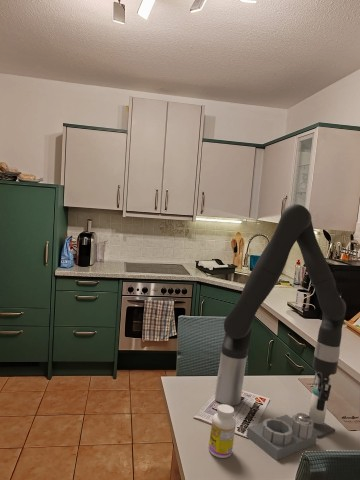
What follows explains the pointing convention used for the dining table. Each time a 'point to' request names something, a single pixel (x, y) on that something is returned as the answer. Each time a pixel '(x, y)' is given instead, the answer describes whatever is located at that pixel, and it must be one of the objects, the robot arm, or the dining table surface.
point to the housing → (282, 436)
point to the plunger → (303, 418)
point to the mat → (322, 429)
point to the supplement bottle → (222, 432)
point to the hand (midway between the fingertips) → (318, 405)
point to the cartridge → (316, 414)
